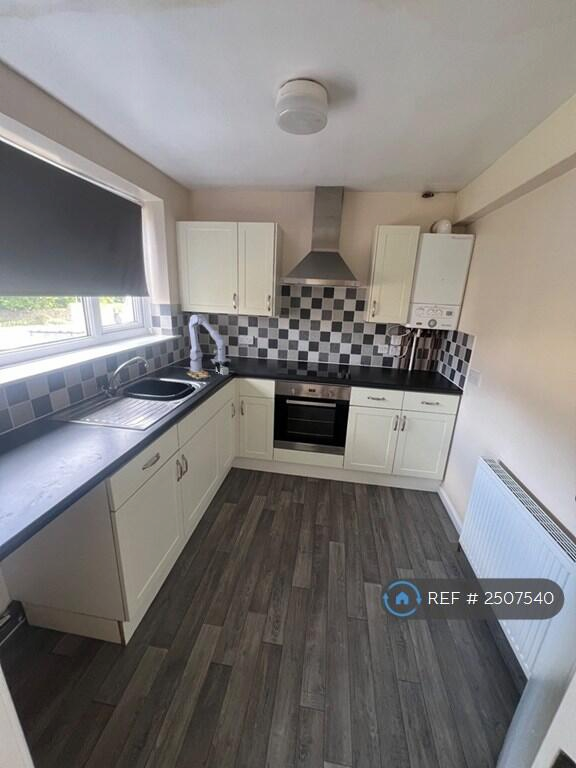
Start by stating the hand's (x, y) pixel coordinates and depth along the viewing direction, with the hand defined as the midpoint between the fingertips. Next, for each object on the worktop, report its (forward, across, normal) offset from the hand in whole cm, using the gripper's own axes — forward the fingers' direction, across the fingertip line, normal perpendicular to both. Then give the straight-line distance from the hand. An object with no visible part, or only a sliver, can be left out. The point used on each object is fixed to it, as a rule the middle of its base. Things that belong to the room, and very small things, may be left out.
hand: (222, 371), depth 235 cm
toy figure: (+2, +9, +23) cm, 25 cm away
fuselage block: (+2, 0, 0) cm, 2 cm away
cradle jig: (+1, -18, +2) cm, 18 cm away
